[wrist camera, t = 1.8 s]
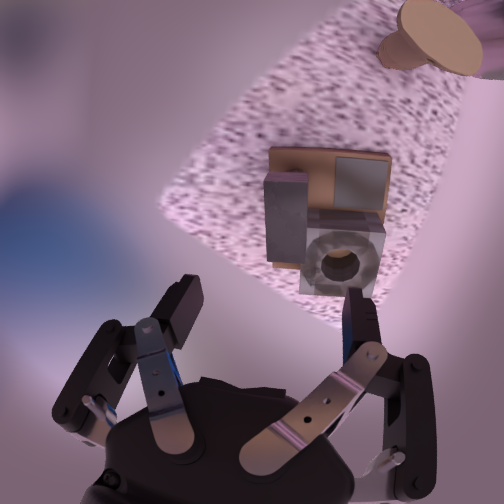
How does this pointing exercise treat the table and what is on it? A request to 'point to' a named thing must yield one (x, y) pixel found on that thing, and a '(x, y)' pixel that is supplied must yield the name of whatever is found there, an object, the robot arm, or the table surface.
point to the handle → (431, 40)
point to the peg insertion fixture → (339, 216)
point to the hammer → (286, 215)
